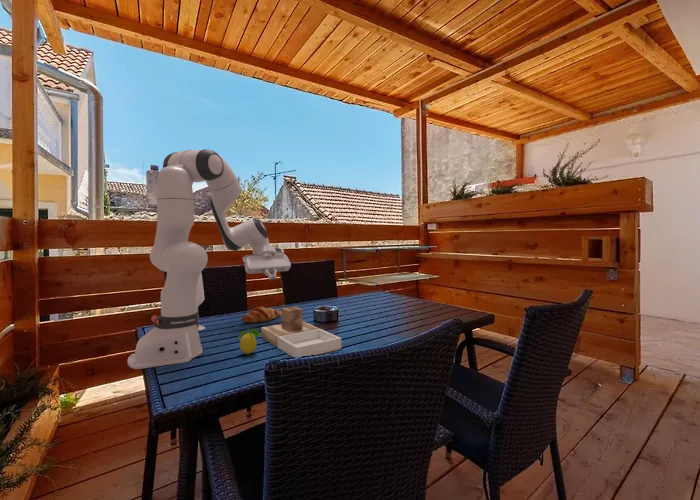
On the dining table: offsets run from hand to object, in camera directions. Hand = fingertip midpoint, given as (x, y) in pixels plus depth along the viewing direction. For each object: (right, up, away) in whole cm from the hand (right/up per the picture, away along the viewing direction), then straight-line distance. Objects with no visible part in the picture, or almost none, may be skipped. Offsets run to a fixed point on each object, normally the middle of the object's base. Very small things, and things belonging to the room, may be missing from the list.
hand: (273, 278), depth 151 cm
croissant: (-8, -21, +16) cm, 28 cm away
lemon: (-2, -24, -30) cm, 39 cm away
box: (+18, -23, -24) cm, 38 cm away
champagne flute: (-33, -22, +1) cm, 40 cm away
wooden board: (+9, -23, -11) cm, 27 cm away
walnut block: (+10, -19, -13) cm, 25 cm away
